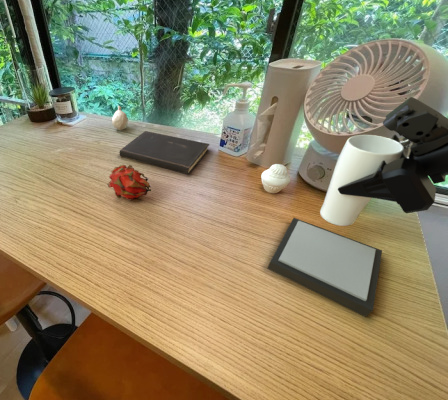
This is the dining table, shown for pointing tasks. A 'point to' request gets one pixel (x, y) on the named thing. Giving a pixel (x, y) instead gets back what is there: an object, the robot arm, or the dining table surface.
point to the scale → (329, 265)
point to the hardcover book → (165, 151)
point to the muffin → (275, 178)
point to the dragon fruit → (128, 183)
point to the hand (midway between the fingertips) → (344, 181)
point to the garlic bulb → (120, 119)
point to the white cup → (356, 175)
